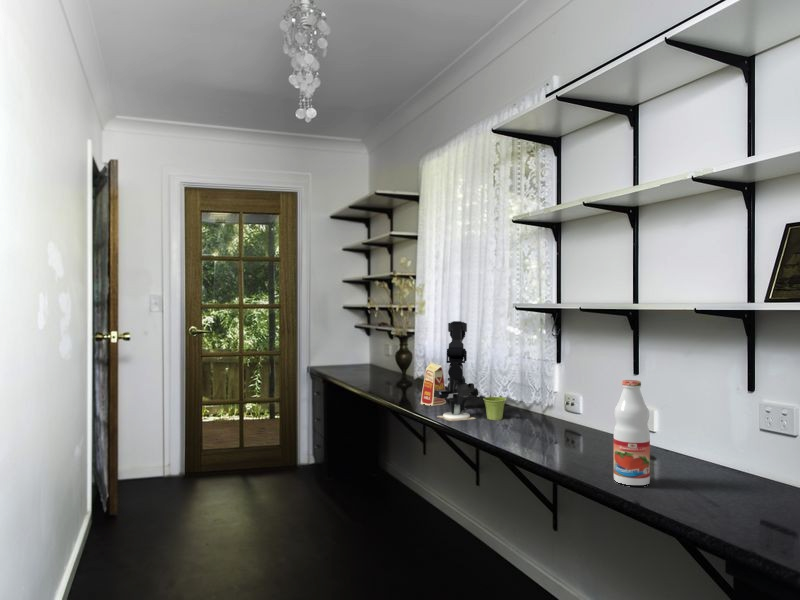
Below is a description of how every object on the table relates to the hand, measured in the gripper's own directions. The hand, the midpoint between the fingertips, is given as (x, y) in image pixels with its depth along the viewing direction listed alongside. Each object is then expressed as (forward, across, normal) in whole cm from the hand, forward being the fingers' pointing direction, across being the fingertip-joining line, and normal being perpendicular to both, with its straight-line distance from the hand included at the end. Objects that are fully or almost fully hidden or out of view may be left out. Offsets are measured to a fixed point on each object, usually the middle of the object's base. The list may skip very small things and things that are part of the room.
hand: (456, 413), depth 264 cm
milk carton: (+2, +9, +35) cm, 36 cm away
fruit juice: (+2, -3, -98) cm, 98 cm away
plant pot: (+2, +13, -9) cm, 16 cm away
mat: (+2, 0, 0) cm, 2 cm away
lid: (+2, 0, 0) cm, 2 cm away
